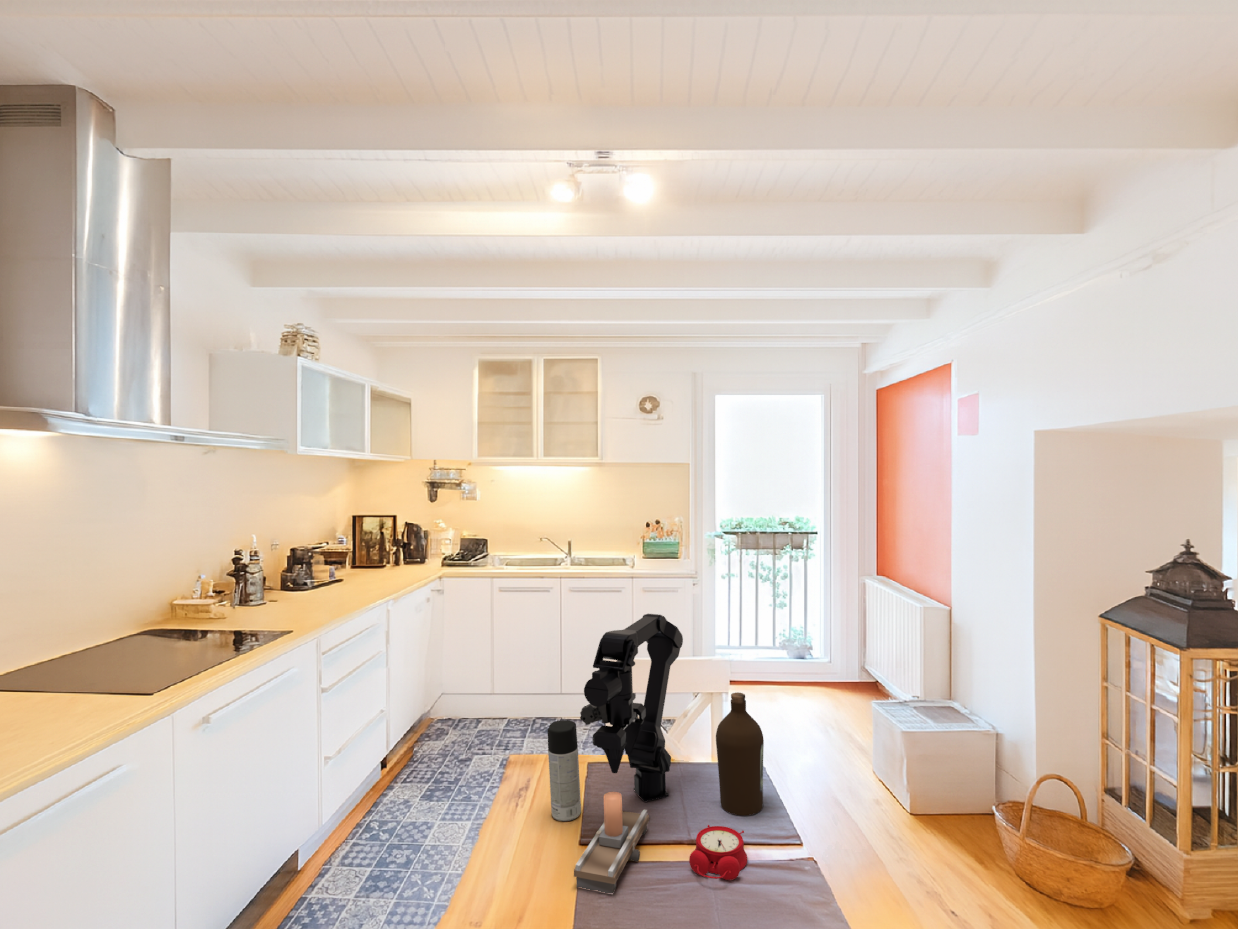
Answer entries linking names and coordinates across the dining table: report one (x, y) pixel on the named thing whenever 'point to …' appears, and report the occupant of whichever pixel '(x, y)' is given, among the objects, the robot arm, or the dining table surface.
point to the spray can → (564, 770)
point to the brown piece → (610, 856)
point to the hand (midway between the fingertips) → (621, 763)
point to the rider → (613, 822)
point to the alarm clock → (718, 853)
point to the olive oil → (740, 760)
